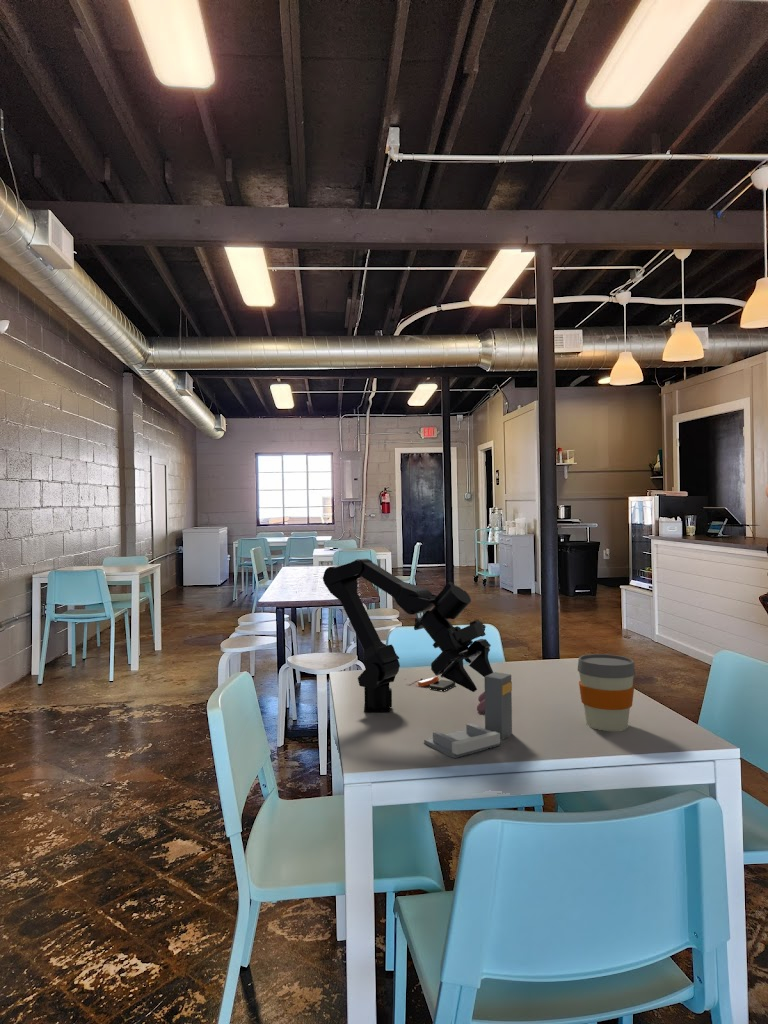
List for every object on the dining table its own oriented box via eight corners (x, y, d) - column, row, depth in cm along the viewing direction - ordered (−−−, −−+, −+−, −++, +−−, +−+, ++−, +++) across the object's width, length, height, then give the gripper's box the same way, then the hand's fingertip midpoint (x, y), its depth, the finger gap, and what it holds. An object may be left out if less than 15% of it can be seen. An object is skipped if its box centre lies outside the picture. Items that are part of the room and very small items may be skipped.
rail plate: (424, 743, 132) (424, 730, 132) (467, 732, 139) (467, 720, 139) (456, 759, 123) (456, 744, 123) (500, 746, 130) (500, 733, 130)
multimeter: (382, 686, 180) (382, 674, 180) (406, 678, 190) (406, 666, 190) (434, 697, 169) (434, 684, 169) (457, 687, 179) (457, 676, 179)
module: (485, 736, 137) (484, 676, 137) (495, 729, 141) (494, 672, 141) (502, 740, 134) (502, 679, 134) (513, 733, 138) (512, 674, 138)
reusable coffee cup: (645, 724, 143) (644, 659, 144) (621, 738, 134) (620, 668, 135) (593, 713, 152) (592, 651, 153) (568, 725, 143) (567, 659, 144)
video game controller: (492, 720, 152) (504, 695, 152) (475, 711, 153) (487, 686, 153) (492, 708, 162) (504, 684, 162) (477, 699, 163) (488, 676, 162)
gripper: (441, 614, 136) (488, 672, 129) (482, 605, 150) (526, 656, 144) (412, 647, 140) (455, 704, 133) (454, 634, 155) (495, 685, 148)
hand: (485, 686), depth 139 cm, fingers open, 9 cm apart
